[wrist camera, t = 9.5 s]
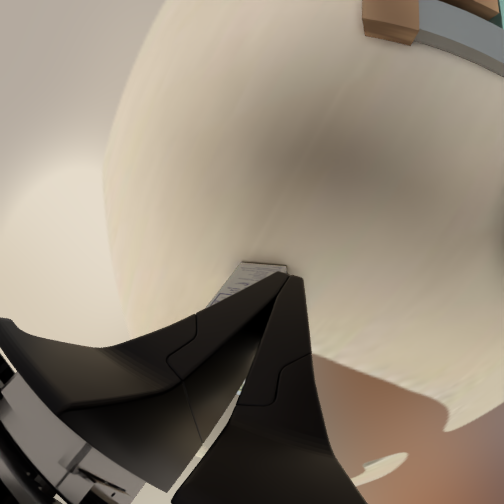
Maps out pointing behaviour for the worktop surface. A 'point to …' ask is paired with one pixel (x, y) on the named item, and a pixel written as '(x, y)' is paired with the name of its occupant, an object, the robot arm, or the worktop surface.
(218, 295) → the medicine box
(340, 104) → the worktop surface
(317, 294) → the worktop surface
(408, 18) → the t block
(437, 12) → the t dock
